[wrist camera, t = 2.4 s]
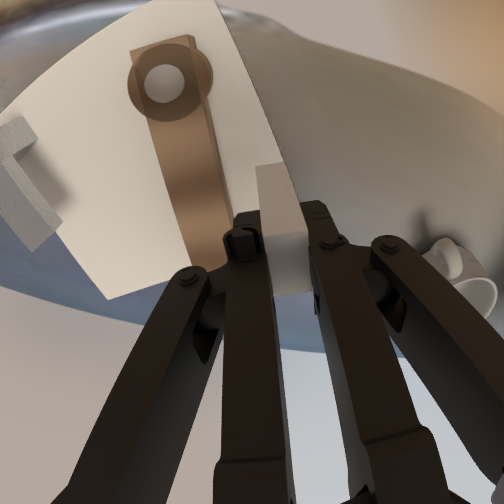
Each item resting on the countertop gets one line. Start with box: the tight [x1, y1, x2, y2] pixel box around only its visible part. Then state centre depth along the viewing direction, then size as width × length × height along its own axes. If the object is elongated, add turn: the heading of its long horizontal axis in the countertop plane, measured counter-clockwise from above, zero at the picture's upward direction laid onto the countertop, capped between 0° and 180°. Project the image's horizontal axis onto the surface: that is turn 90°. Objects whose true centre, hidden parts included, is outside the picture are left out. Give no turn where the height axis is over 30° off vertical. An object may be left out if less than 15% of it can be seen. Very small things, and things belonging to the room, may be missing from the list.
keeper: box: [0, 116, 63, 252], centre depth 22 cm, size 4×10×7 cm, turn 30°
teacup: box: [421, 238, 498, 319], centre depth 30 cm, size 14×11×8 cm
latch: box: [127, 34, 234, 272], centre depth 23 cm, size 21×6×4 cm, turn 10°
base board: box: [0, 0, 299, 300], centre depth 26 cm, size 24×24×2 cm
